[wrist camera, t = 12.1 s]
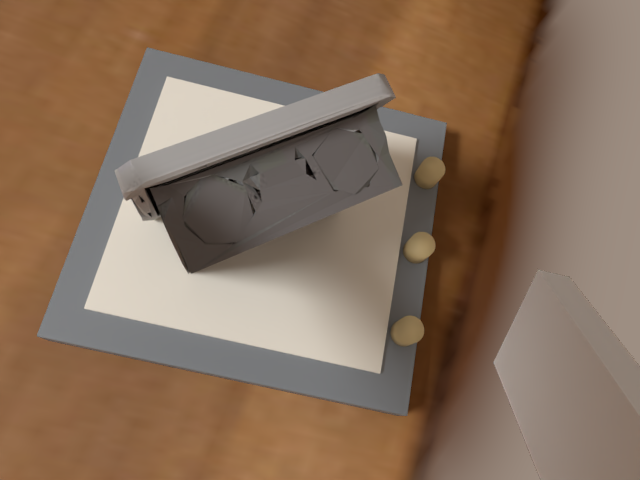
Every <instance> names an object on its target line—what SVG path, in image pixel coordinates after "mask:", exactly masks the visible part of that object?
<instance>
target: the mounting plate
mask: <svg viewBox="0 0 640 480" xmlns="http://www.w3.org/2000/svg"><path fill="white" fill-rule="evenodd" d="M320 93H323V92H322V91H318V90H314V89H310V88H306V87H302V86H298V85H294V84H290V83H286V82H282V81H278V80H274V79H270V78H266V77H262V76H258V75H254V74H250V73H246V72H242V71H238V70H235V69H231V68H227V67H223V66H219V65H215V64H211V63H207V62H203V61H199V60H195V59H191V58H187V57H183V56H179V55H175V54H171V53H167V52H163V51H159V50H155V49H151V48H147V49H146V52H145V54H144V57H143V60H142V62H141V65H140V67H139V70H138V73H137V75H136V78H135V80H134V83H133V86H132V88H131V91H130V94H129V96H128V99H127V101H126V104H125V107H124V109H123V112H122V114H121V117H120V120H119V122H118V125H117V128H116V130H115V133H114V135H113V138H112V141H111V143H110V146H109V148H108V151H107V154H106V156H105V159H104V162H103V164H102V167H101V169H100V172H99V175H98V177H97V180H96V182H95V185H94V188H93V190H92V193H91V196H90V198H89V201H88V203H87V206H86V209H85V211H84V214H83V216H82V219H81V222H80V224H79V227H78V230H77V232H76V235H75V237H74V240H73V243H72V245H71V248H70V250H69V253H68V256H67V258H66V261H65V264H64V266H63V269H62V271H61V274H60V277H59V279H58V282H57V284H56V287H55V290H54V292H53V295H52V298H51V300H50V303H49V305H48V308H47V311H46V313H45V316H44V318H43V321H42V324H41V326H40V329H39V332H38V334H37V336H38V337H40V338H43V339H46V340H49V341H53V342H58V343H63V344H67V345H72V346H76V347H81V348H86V349H90V350H95V351H100V352H104V353H109V354H114V355H118V356H123V357H128V358H132V359H137V360H142V361H146V362H151V363H155V364H160V365H165V366H169V367H174V368H179V369H183V370H188V371H193V372H197V373H202V374H207V375H211V376H216V377H220V378H225V379H230V380H234V381H239V382H244V383H248V384H253V385H258V386H262V387H267V388H272V389H276V390H281V391H286V392H290V393H295V394H299V395H304V396H309V397H313V398H318V399H323V400H327V401H332V402H337V403H341V404H346V405H351V406H355V407H360V408H365V409H369V410H374V411H378V412H383V413H388V414H392V415H397V416H407V414H408V406H409V399H410V391H411V384H412V376H413V369H414V362H415V354H416V347H417V342H418V341H420V340H421V339H422V337H423V335H424V326H423V323H422V322H421V320H420V317H421V310H422V302H423V295H424V287H425V280H426V273H427V265H428V258H429V256H430V255H431V254H432V253H433V252H434V250H435V241H434V239H433V237H432V228H433V221H434V213H435V206H436V198H437V191H438V184H439V180H440V179H441V178H442V176H443V175H444V174H445V165H444V163H443V162H442V154H443V147H444V139H445V132H446V124H447V123H445V122H441V121H437V120H433V119H429V118H425V117H421V116H417V115H413V114H409V113H405V112H401V111H397V110H393V109H389V108H385V107H380V108H378V109H377V112H378V116H379V120H380V123H381V125H382V127H383V130H384V132H385V134H386V137H387V143H388V149H389V153H390V156H391V158H392V161H393V163H394V165H395V168H396V170H397V172H398V175H399V177H400V180H401V182H402V184H403V185H402V186H399V187H397V188H395V189H392V190H390V191H388V192H385V193H383V194H380V195H378V196H376V197H373V198H371V199H368V200H366V201H364V202H361V203H359V204H357V205H354V206H352V207H349V208H347V209H345V210H342V211H340V212H337V213H335V214H333V215H330V216H328V217H326V218H323V219H321V220H318V221H316V222H314V223H311V224H309V225H306V226H304V227H302V228H299V229H297V230H295V231H292V232H290V233H287V234H285V235H283V236H280V237H278V238H275V239H273V240H271V241H268V242H266V243H264V244H261V245H259V246H256V247H254V248H252V249H249V250H247V251H244V252H242V253H240V254H237V255H235V256H233V257H230V258H228V259H225V260H223V261H221V262H218V263H216V264H213V265H211V266H209V267H206V268H204V269H202V270H199V271H197V272H194V273H192V274H191V272H189V271H188V272H189V274H188V273H187V271H186V269H185V268H184V266H183V265H182V262H181V260H180V258H179V256H178V254H177V252H176V250H175V248H174V246H173V244H172V242H171V239H170V237H169V235H168V233H167V230H166V228H165V226H164V223H163V221H162V218H161V217H160V218H158V219H155V220H151V221H142V217H141V216H140V214H139V213H138V211H137V209H136V208H135V206H134V204H133V202H132V201H131V199H130V200H128V201H126V200H125V199H124V197H123V194H122V191H121V189H120V186H119V183H118V180H117V177H116V174H115V170H116V169H118V168H119V167H121V166H122V165H123V164H125V163H126V162H128V161H129V160H132V159H135V158H137V157H140V156H143V155H146V154H149V153H152V152H155V151H157V150H160V149H163V148H166V147H169V146H172V145H175V144H177V143H180V142H183V141H186V140H189V139H192V138H195V137H197V136H200V135H203V134H206V133H209V132H212V131H215V130H217V129H220V128H223V127H226V126H229V125H232V124H235V123H237V122H240V121H243V120H246V119H249V118H252V117H255V116H257V115H260V114H263V113H266V112H269V111H272V110H275V109H278V108H280V107H283V106H286V105H289V104H292V103H295V102H298V101H300V100H303V99H306V98H309V97H312V96H315V95H318V94H320ZM251 205H252V203H251ZM252 210H253V214H254V213H255V209H254V207H253V205H252ZM231 244H232V243H231Z"/></svg>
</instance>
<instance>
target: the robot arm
mask: <svg viewBox="0 0 640 480" xmlns="http://www.w3.org/2000/svg"><path fill="white" fill-rule="evenodd" d="M493 363H494V365H495V368H496V370H497V373H498V375H499V378H500V380H501V383H502V385H503V388H504V390H505V393H506V395H507V398H508V400H509V403H510V405H511V408H512V410H513V413H514V415H515V418H516V420H517V423H518V425H519V428H520V430H521V433H522V435H523V438H524V441H525V443H526V445H527V448H528V451H529V453H530V456H531V458H532V460H533V463H534V466H535V468H536V470H537V473H538V475H539V478H540V480H640V366H639V365H638V363H637V362H636V361H635V360H634V358H633V357H632V356H631V355H630V353H629V352H628V351H627V350H626V348H625V347H624V346H623V344H622V343H621V342H620V340H619V339H618V338H617V337H616V335H615V334H614V333H613V332H612V330H611V329H610V328H609V326H608V325H607V324H606V323H605V321H604V320H603V319H602V318H601V316H600V315H599V314H598V312H597V311H596V310H595V309H594V307H593V306H592V305H591V304H590V302H589V301H588V300H587V298H586V297H585V296H584V295H583V293H582V292H581V291H580V290H579V288H578V287H577V286H576V284H575V283H574V282H573V281H572V279H571V278H570V277H568V276H563V275H559V274H555V273H551V272H547V271H542V270H538V271H537V273H536V275H535V277H534V279H533V281H532V283H531V285H530V287H529V289H528V291H527V293H526V296H525V298H524V300H523V302H522V304H521V306H520V308H519V310H518V312H517V314H516V316H515V318H514V320H513V323H512V325H511V327H510V329H509V331H508V333H507V335H506V337H505V339H504V341H503V343H502V345H501V348H500V350H499V352H498V354H497V356H496V358H495V360H494V362H493Z"/></svg>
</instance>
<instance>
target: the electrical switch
mask: <svg viewBox="0 0 640 480" xmlns="http://www.w3.org/2000/svg"><path fill="white" fill-rule="evenodd" d="M394 98H396V97H395V95H394V93H393V91H392V89H391V87H390V85H389V83H388V81H387V79H386V77H385V75H384V74H379V73H378V74H375V75H372V76H369V77H366V78H363V79H360V80H358V81H355V82H352V83H349V84H346V85H343V86H340V87H338V88H335V89H332V90H329V91H326V92H323V93H320V94H318V95H315V96H312V97H309V98H306V99H303V100H300V101H298V102H295V103H292V104H289V105H286V106H283V107H280V108H278V109H275V110H272V111H269V112H266V113H263V114H260V115H257V116H255V117H252V118H249V119H246V120H243V121H240V122H237V123H235V124H232V125H229V126H226V127H223V128H220V129H217V130H215V131H212V132H209V133H206V134H203V135H200V136H197V137H195V138H192V139H189V140H186V141H183V142H180V143H177V144H175V145H172V146H169V147H166V148H163V149H160V150H157V151H155V152H152V153H149V154H146V155H143V156H140V157H137V158H135V159H132V160H129V161H128V162H126V163H125V164H123V165H122V166H121V167H119V168H118V169H116V170H115V174H116V177H117V180H118V183H119V186H120V189H121V191H122V194H123V197H124V199H125V200H126V201H128V200H130V199H131V201H132V202H133V204H134V206H135V208H136V209H137V211H138V213H139V214H140V216H141V217H142V221H151V220H155V219H158V218H160V217H161V218H162V221H163V223H164V226H165V228H166V230H167V233H168V235H169V237H170V239H171V242H172V244H173V246H174V248H175V250H176V252H177V254H178V256H179V258H180V260H181V262H182V265H183V266H184V268H185V269H186V271H187V273H188V274H189V272H191V274H192V273H194V272H197V271H199V270H202V269H204V268H206V267H209V266H211V265H213V264H216V263H218V262H221V261H223V260H225V259H228V258H230V257H233V256H235V255H237V254H240V253H242V252H244V251H247V250H249V249H252V248H254V247H256V246H259V245H261V244H264V243H266V242H268V241H271V240H273V239H275V238H278V237H280V236H283V235H285V234H287V233H290V232H292V231H295V230H297V229H299V228H302V227H304V226H306V225H309V224H311V223H314V222H316V221H318V220H321V219H323V218H326V217H328V216H330V215H333V214H335V213H337V212H340V211H342V210H345V209H347V208H349V207H352V206H354V205H357V204H359V203H361V202H364V201H366V200H368V199H371V198H373V197H376V196H378V195H380V194H383V193H385V192H388V191H390V190H392V189H395V188H397V187H399V186H402V185H403V184H402V182H401V180H400V177H399V175H398V172H397V170H396V168H395V165H394V163H393V161H392V158H391V156H390V153H389V149H388V143H387V137H386V134H385V132H384V130H383V127H382V125H381V123H380V120H379V116H378V112H377V109H378V108H380V107H382V106H383V105H385V104H386V103H388V102H390V101H391V100H393V99H394ZM251 203H252V205H253V207H254V209H255V213H254V214H253V210H252V205H251ZM231 243H232V244H231ZM188 271H189V272H188Z"/></svg>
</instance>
